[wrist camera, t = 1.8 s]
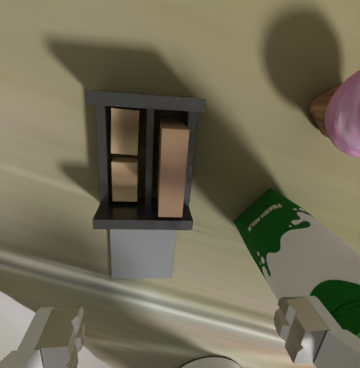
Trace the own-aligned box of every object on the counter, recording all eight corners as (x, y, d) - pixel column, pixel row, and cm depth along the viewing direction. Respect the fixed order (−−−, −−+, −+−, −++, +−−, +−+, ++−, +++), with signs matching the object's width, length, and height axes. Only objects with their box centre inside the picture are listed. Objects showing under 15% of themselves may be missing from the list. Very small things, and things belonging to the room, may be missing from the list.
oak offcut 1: (138, 150, 31) (137, 155, 28) (114, 148, 30) (110, 153, 28) (140, 109, 29) (139, 110, 27) (114, 106, 29) (111, 108, 26)
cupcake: (283, 103, 30) (340, 109, 21) (344, 54, 29) (435, 37, 19) (315, 156, 33) (378, 182, 24) (372, 113, 32) (462, 123, 22)
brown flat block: (175, 188, 33) (182, 217, 25) (157, 187, 33) (158, 216, 25) (180, 120, 30) (189, 130, 22) (160, 118, 29) (162, 128, 22)
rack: (185, 207, 34) (192, 230, 28) (103, 205, 33) (93, 229, 27) (195, 97, 29) (205, 99, 23) (98, 90, 28) (84, 90, 22)
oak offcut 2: (138, 193, 33) (137, 201, 31) (115, 193, 32) (112, 201, 30) (138, 157, 31) (137, 163, 29) (114, 156, 31) (111, 162, 28)
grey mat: (171, 275, 38) (171, 278, 37) (112, 275, 37) (111, 278, 36) (175, 218, 34) (176, 220, 34) (110, 217, 33) (109, 219, 33)
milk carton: (271, 179, 34) (414, 289, 15) (307, 217, 37) (465, 349, 18) (224, 222, 35) (302, 367, 17) (263, 255, 38) (365, 410, 20)
